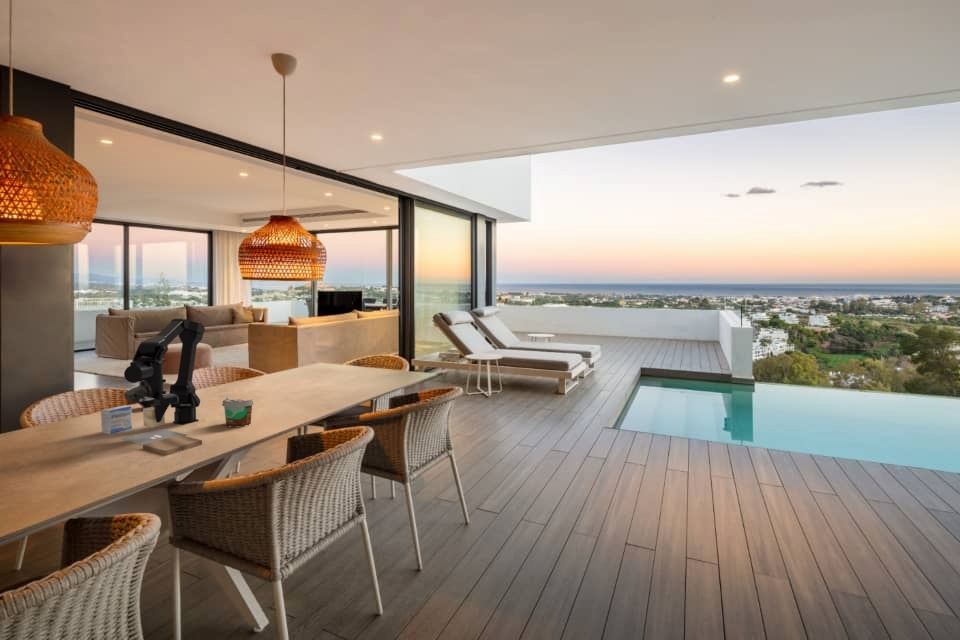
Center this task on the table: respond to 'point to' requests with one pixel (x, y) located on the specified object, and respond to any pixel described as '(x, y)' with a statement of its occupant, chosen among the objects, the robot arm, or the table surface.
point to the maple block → (151, 418)
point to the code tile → (151, 436)
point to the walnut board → (172, 444)
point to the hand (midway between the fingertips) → (154, 421)
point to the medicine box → (116, 419)
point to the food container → (237, 412)
